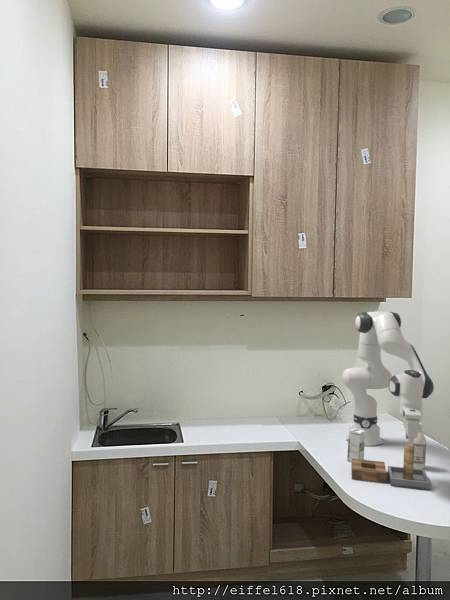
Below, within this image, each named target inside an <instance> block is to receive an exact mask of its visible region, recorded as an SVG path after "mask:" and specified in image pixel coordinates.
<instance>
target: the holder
mask: <svg viewBox="0 0 450 600" xmlns="http://www.w3.org/2000/svg"><path fill="white" fill-rule="evenodd" d="M350 467H351V480H358V481H366V482H375V483H380V484H381V483H382V484H384V483H385V484H387V480H388V479H387V475H388V471H387V468H386V464H385V461H378V460H377V461H376V460H369V459H368V460H367V459H364V460H361V459H352V462H351V466H350Z"/></svg>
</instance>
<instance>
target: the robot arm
mask: <svg viewBox="0 0 450 600" xmlns="http://www.w3.org/2000/svg"><path fill="white" fill-rule="evenodd" d="M354 322H355V328H356V330H357V331H358V332H359V337H358V338H359V339H358V349H357V356H358V358H359V359H360V360H361V361H363V362H365V363H366V364H367V367H349V368H346V369H344V371H343V372H342V374H341V380H342V384H343V385H344V386H345V387H346V388H347V389H349V391H350V392H351V394H352V396H353V400H354V413H353V416H352V417H353V422H352V423H351V424H350V425H349V431H350V430H352V429H354V428H356V429H361V430H364V431H365V445H364V447H368V446H369V447H373V446H374V447H375V446H379V445H383V444H384V440H382V438H381V428H380V426H379V425H378V419H379V418H378V415H377V413H378V412H377V409H378V403H377V400H376V398H374V397H373V396H371V395H370V394H368V393H367V390H383V389H387V388H388V391H389V393H391V394H392V396H394V397H399V398H400V400H399V414H401V415H402V425H403V427H404V431H405V439H406V440H408V442H407V444H408V445H409V446H413V442H414V438H417V437H418V432H419V424H420V423H421V420H422V415H423V401H422V399H428V398H429V396H431V395H432V394H433V392H434V390H435V389H434V388H435V387H434V383H433V380H432V379H431V377H430V375H428V373H427V372H426V369H425V367H424V365H423V363H422V360H421V359H420V356H419V354H418V353H417V350H416V349H415V347H414V346H413V345H412V344H411V343H409V342H408V340H406V338H405V337H404V336H403V334H402V330H401V327H402V319H401V317H400V314H398V313H396V312H394V311H390V312H389V311H381V310H379V311H368V312H367V311H362V312H359V313H357V315H356V316H355V321H354ZM382 351H383V352H385V353H386V354H388V355H391V356H395V357H398V358H400V359H403V360H405V362H407V364H408V366H409V368H410V369H407V370H404V371H403V372H402V373H399V374H394V375H392V373H391V372H390V371H389V369H387V368H386V367H385V365H384V364H383V362H382V358H381V353H382ZM348 438H349V434H348V435H347V436H346V437H345V441H348Z"/></svg>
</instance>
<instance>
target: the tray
mask: <svg viewBox="0 0 450 600" xmlns="http://www.w3.org/2000/svg"><path fill="white" fill-rule="evenodd" d="M387 475H388V478H389V484H390V487H396V488H405V489H407V488H408V489H415V490H423V491H431V483H430V480H429V477H428V476H427V473H426V470H425V469H414V468H413V480H406V479H403V466H402V467H401V466H393V465H387Z"/></svg>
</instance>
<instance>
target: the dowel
mask: <svg viewBox="0 0 450 600" xmlns="http://www.w3.org/2000/svg"><path fill="white" fill-rule="evenodd" d="M402 464H403V466H402V467H403V479H406V480H413V469H414V446H409V445H408V443H407V444H404V447H403V463H402Z"/></svg>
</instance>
